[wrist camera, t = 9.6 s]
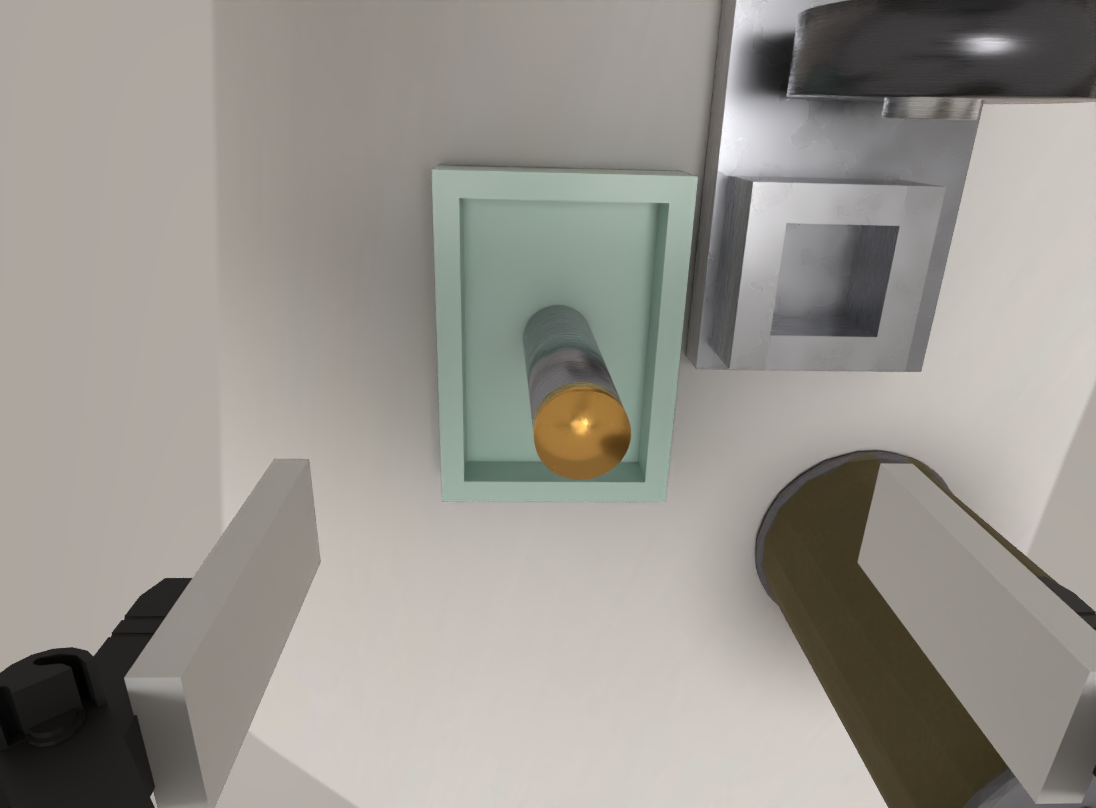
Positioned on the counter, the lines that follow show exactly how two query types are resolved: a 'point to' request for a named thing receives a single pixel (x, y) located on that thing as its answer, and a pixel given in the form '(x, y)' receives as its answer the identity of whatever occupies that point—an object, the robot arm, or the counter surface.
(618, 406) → the lock pin
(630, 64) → the counter surface
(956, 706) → the canister
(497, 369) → the tray
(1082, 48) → the tensioner
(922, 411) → the counter surface
